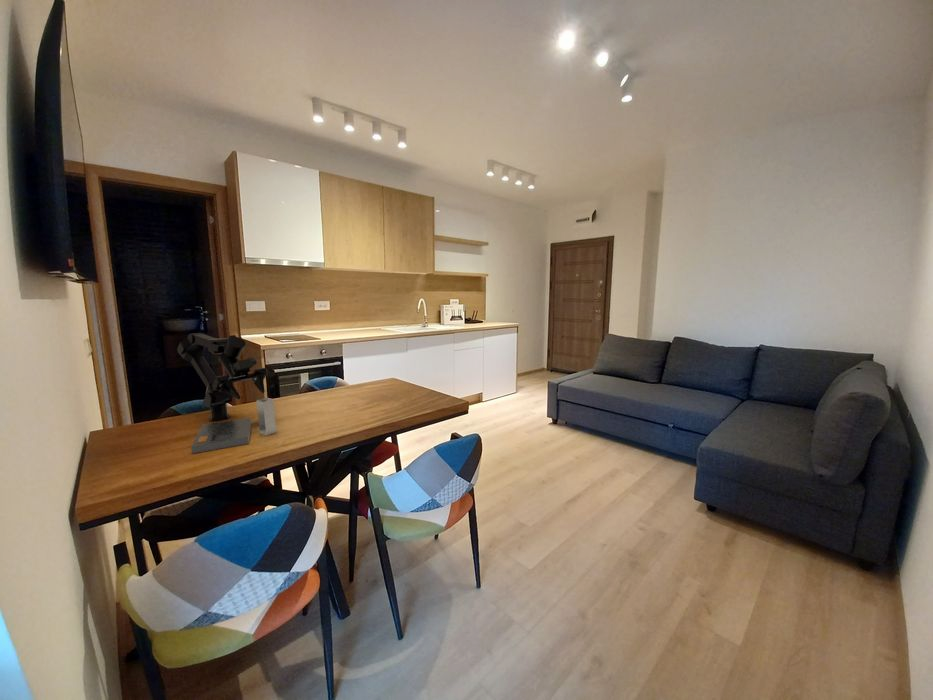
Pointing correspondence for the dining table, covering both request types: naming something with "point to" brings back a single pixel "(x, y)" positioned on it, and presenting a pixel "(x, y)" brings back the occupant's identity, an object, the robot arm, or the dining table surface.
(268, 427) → the steel peg
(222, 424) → the flange plate
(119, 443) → the dining table surface
